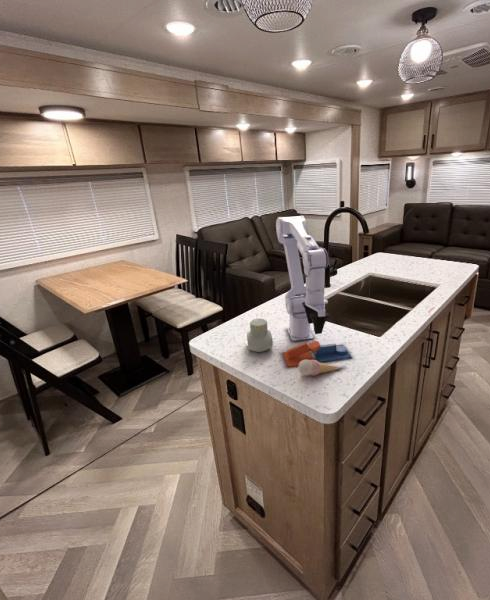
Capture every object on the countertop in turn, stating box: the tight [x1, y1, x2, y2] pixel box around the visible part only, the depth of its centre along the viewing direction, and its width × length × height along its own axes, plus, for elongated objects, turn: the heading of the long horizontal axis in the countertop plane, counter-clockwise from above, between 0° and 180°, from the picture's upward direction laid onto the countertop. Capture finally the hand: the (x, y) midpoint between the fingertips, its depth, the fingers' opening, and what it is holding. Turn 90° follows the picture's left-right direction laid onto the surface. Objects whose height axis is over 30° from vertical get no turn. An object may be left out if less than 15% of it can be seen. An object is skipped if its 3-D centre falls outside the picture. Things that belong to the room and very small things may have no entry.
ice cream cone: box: [297, 359, 343, 376], centre depth 98 cm, size 5×5×15 cm
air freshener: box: [246, 318, 274, 353], centre depth 111 cm, size 11×8×10 cm
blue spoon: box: [314, 343, 348, 356], centre depth 107 cm, size 11×4×3 cm, turn 101°
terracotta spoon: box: [286, 340, 321, 359], centre depth 105 cm, size 11×4×3 cm, turn 101°
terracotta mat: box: [282, 351, 315, 368], centre depth 106 cm, size 8×9×1 cm
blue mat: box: [313, 344, 352, 363], centre depth 108 cm, size 8×11×1 cm
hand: (314, 328), depth 103 cm, fingers open, 7 cm apart
